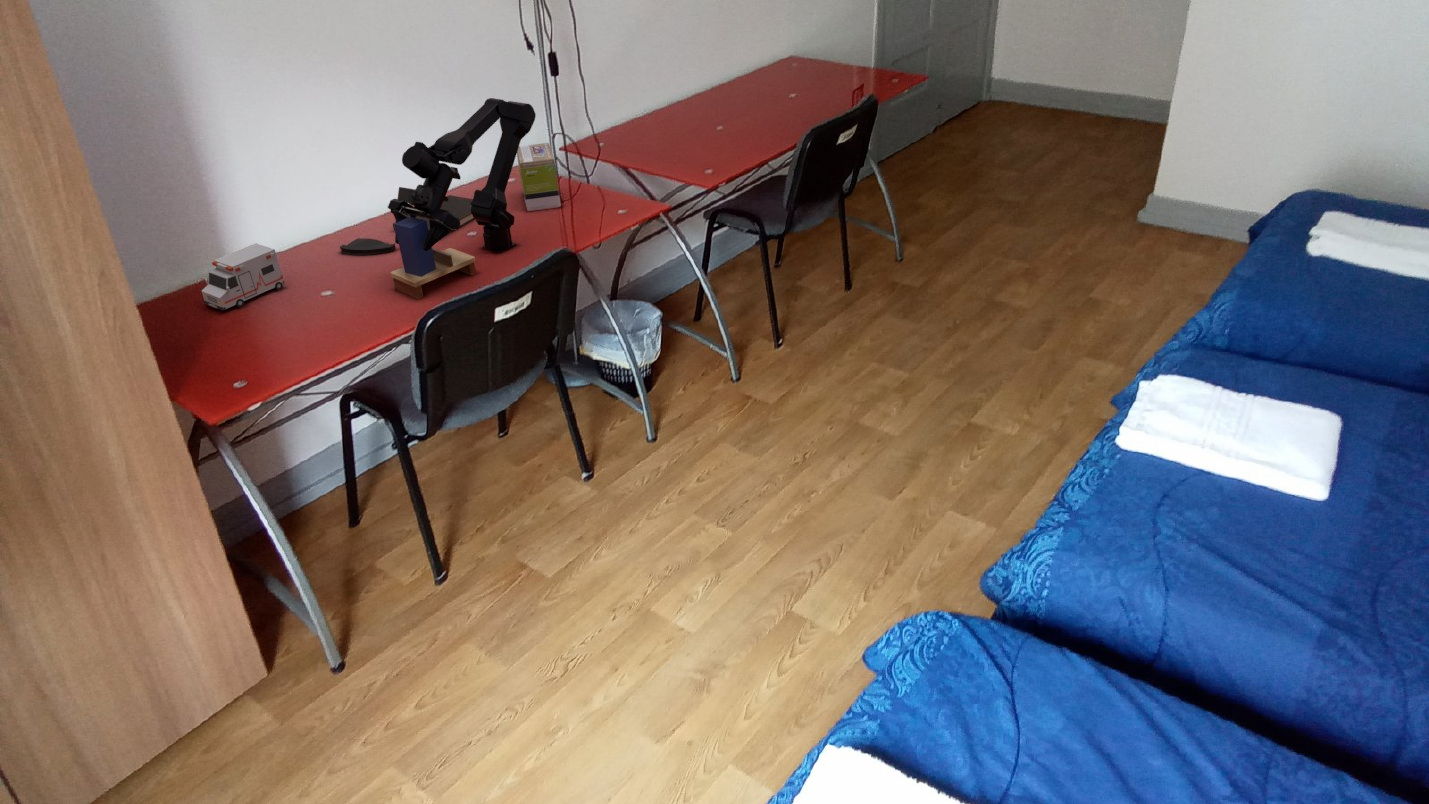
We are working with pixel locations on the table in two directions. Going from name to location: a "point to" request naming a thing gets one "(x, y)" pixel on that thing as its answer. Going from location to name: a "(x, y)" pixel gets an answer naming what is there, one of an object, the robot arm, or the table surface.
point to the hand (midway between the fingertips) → (410, 247)
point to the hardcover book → (455, 210)
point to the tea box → (538, 177)
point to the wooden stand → (444, 265)
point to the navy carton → (414, 246)
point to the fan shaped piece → (366, 247)
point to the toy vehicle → (242, 276)
